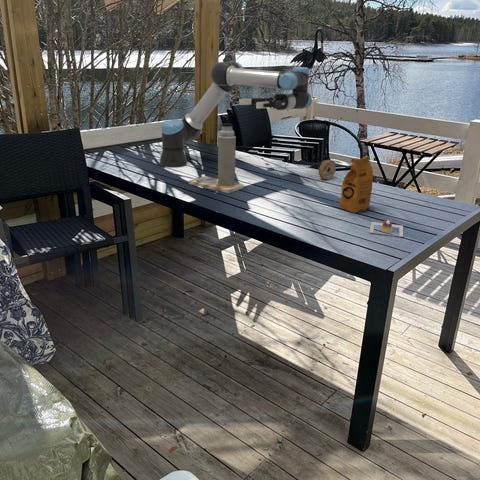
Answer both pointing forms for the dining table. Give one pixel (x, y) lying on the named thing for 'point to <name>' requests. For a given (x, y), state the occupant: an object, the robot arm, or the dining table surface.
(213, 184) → the board
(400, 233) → the dessert
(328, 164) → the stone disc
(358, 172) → the coffee package
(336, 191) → the dining table surface
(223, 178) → the thermos bottle
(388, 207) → the dining table surface
